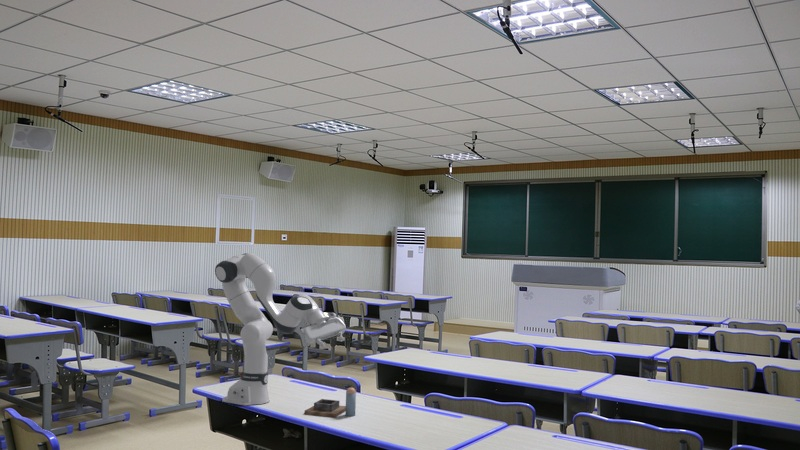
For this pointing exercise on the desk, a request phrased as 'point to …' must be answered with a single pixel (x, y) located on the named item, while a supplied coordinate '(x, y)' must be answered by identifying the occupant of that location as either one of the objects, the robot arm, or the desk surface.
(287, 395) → the desk surface
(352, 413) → the peach-tipped grey cylinder
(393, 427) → the desk surface
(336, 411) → the jig
